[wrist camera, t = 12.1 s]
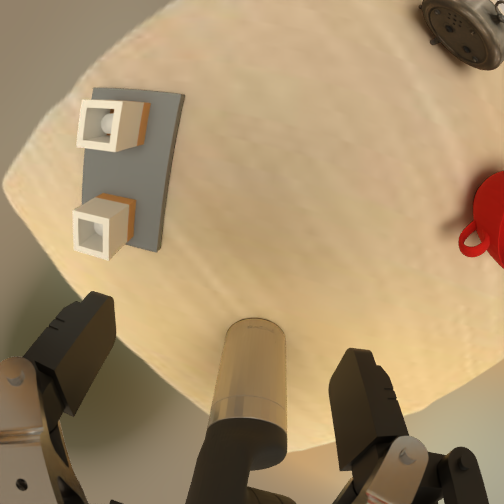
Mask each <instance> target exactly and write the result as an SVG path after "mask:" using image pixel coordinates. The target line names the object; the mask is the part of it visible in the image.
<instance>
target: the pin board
mask: <svg viewBox="0 0 504 504" xmlns="http://www.w3.org/2000/svg"><path fill="white" fill-rule="evenodd" d="M184 97H185V95H182V94H175V93H167V92H158V91H147V90H135V89H118V88H93V94H92V99H91V100H121V101H134V102H145V103H151V106H150V111H149V117H148V122H147V128H146V134H145V140H144V144H143V145H139V146H136V147H132V148H128V149H125V150H121V151H118V152H110V151H103V150H95V149H88V148H85V154H84V166H83V183H82V205H81V206H79V207H77V208H75V209H74V210H73V242H74V250H75V251H78V252H82V253H85V254H88V255H91V256H95V257H98V258H102V259H105V260H108V261H109V260H110V259H111V258H112V257H113V256H114V255H115V254H116V253H117V252H118V251H119V250H120V249H121V248H122V247H123V246H124V245H125V244H126V245H130V246H133V247H137V248H141V249H145V250H149V251H153V252H158V250H159V249H160V248H161V239H162V229H163V221H164V213H165V205H166V198H167V190H168V184H169V177H170V171H171V165H172V159H173V153H174V147H175V142H176V136H177V131H178V126H179V121H180V116H181V111H182V106H183V102H184ZM113 115H114V113H111V114H107V115H105V116H104V117H103V119H102V121H101V128H102V130H103V131H104V132H105V133H107V134H111V128H112V121H113Z"/></svg>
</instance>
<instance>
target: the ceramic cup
mask: <svg viewBox="0 0 504 504" xmlns="http://www.w3.org/2000/svg"><path fill="white" fill-rule="evenodd" d="M473 217H474V221H472V222H471V223H470V224H469V225H468V226H467V227H466V228H465V229H464V230H463V231H462V233H461V234H460V236H459V248H460V251H461V252H462V254H464V255H465V256H467V257H477V256H479V255H481V254H483V253H484V252H485V251H486V250H487V251H488V252H489V254H490V255H491V256H492V257H493V258H494V260H495V261H496V262H497V263H498V264H499V265H500V266H501V267H502V268H503V269H504V171H501V172H498V173H495V174H493V175H492V176H490V177H489V178H487V179H486V180H485V181H484V182H483V183H482V185H481V186H480V187H479V188H478V190H477V192H476V194H475V197H474V202H473ZM475 230H476V231H477V234H478V236H479V238H480V240H481V242H482V243H480V244H479V245H477V246H474V247H468V246H466V245H464V242H465V240H466V239H467V237H468V236H469V235H470V234H472V233H473V232H474V231H475Z"/></svg>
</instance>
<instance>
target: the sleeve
mask: <svg viewBox="0 0 504 504" xmlns="http://www.w3.org/2000/svg"><path fill="white" fill-rule="evenodd" d="M150 106H151V103H145V102H134V101H121V100H82V103H81V110H80V117H79V124H78V133H77V143H76V147H79V148H88V149H95V150H103V151H110V152H118V151H121V150H125V149H128V148H132V147H136V146H139V145H143V144H144V140H145V134H146V128H147V122H148V117H149V111H150ZM111 113H114V115H113V121H112V128H111V134H107V133H105V132H104V131H103V130H102V128H101V121H102V119H103V117H104V116H105V115H107V114H111Z"/></svg>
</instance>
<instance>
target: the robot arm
mask: <svg viewBox="0 0 504 504" xmlns="http://www.w3.org/2000/svg"><path fill="white" fill-rule="evenodd" d="M115 338H116V323H115V310H114V300H113V298H112V297H111V296H107V295H104V294H101V293H98V292H94V291H91V292H90V293H89V294H88V295H87V296H86V297H85V298H84V300H83V301H82V302H81V303H80V302H77V301H76V302H74V303H72V304H70V305H68V306H67V307H65V308H63V310H62V311H61V312H60V313H59V314H58V315H57V316H56V319H54V320H53V321H52V322H51V323H50V324H49V327H47V328H46V329H45V330H44V331H43V333H42V334H41V335H40V336H39V337H38V339H37V340H36V341H35V342H34V343H33V345H32V346H31V347H30V348H29V350H28V351H27V352H26V354H25V355H24V356H23V357H18V356H14V357H9V358H7V359H5V360H3V361H2V362H1V363H0V504H89V503H88V501H87V499H86V496H85V494H84V491H83V489H82V487H81V485H80V483H79V481H78V479H77V477H76V475H75V473H74V471H73V468H72V465H71V461H70V458H69V455H68V452H67V448H66V445H65V440H64V437H63V433H62V429H61V424H60V421H59V419H60V417H61V415H62V413H63V412H64V413H67V414H69V415H71V416H73V417H74V416H75V414H76V412H77V410H78V408H79V406H80V405H81V403H82V400H83V399H84V397H85V395H86V393H87V392H88V390H89V388H90V386H91V384H92V382H93V381H94V379H95V377H96V375H97V373H98V371H99V370H100V368H101V366H102V365H103V363H104V361H105V359H106V358H107V356H108V354H109V353H110V351H111V349H112V347H113V345H114V342H115ZM396 398H397V397H396V394H395V392H394V391H393V386H392V383H391V380H390V378H389V376H388V375H387V373H386V372H385V371H384V370H383V368H382V367H381V366H378V365H376V363H375V360H374V357H373V354H372V352H371V351H370V350H364V349H356V348H349V349H347V351H346V352H345V354H344V356H343V358H342V359H341V361H340V363H339V365H338V366H337V368H336V370H335V372H334V373H333V375H332V377H331V379H330V383H329V399H330V405H331V411H332V418H333V425H334V431H335V438H336V445H337V453H338V461H339V468H340V471H352V475H353V477H352V478H351V479H350V480H349V481H348V483H347V484H346V485H345V487H344V488H343V490H342V491H341V492H340V494H339V495H338V497H337V498H336V500H335V501H334V502H333V503H332V504H438V501H439V500H441V499H442V498H444V503H445V504H489V502H488V498H487V494H486V490H485V487H484V482H483V479H482V475H481V472H480V469H479V466H478V462H477V459H476V457H475V455H474V454H473V453H472V452H471V451H470V450H469V449H467V448H465V447H457V448H454V449H453V450H452V451H451V452H450V453H448V454H447V455H442V454H437V453H431V452H427V449H426V447H425V446H424V444H423V443H422V442H421V441H420V440H418V439H417V438H414V437H412V436H409V434H408V431H407V427H406V424H405V421H404V418H403V415H402V412H401V409H400V406H399V403H398V400H396ZM286 453H287V388H286V341H285V336H284V333H283V331H282V330H281V329H280V328H279V327H278V326H277V325H275V324H274V323H272V322H270V321H267V320H264V319H257V318H253V319H245V320H242V321H239V322H237V323H235V324H234V325H232V326H231V327H230V329H229V330H228V332H227V334H226V339H225V344H224V348H223V352H222V357H221V362H220V367H219V372H218V377H217V382H216V387H215V392H214V396H213V401H212V406H211V412H210V417H209V422H208V427H207V432H206V437H205V440H204V443H203V445H202V448H201V450H200V453H199V456H198V458H197V462H196V466H195V470H194V474H193V478H192V482H191V485H190V489H189V492H188V496H187V499H186V503H185V504H296V503H295V502H294V501H293V500H292V499H290V498H289V497H286V496H283V495H279V494H275V493H271V492H267V491H263V490H259V489H255V488H251V487H247V483H248V477H249V472H250V471H252V470H260V469H266V468H269V467H272V466H274V465H277V464H279V463H280V462H281V461H283V459H284V458H285V456H286ZM110 504H122V503H119V502H117V501H114V500H111V501H110Z"/></svg>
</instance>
